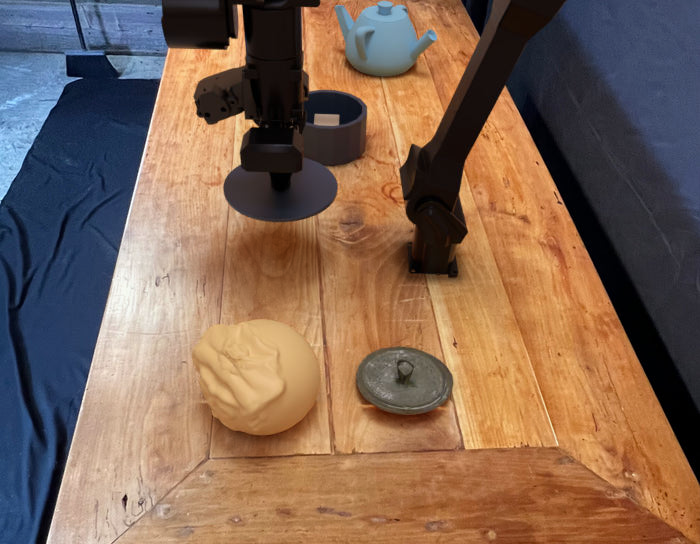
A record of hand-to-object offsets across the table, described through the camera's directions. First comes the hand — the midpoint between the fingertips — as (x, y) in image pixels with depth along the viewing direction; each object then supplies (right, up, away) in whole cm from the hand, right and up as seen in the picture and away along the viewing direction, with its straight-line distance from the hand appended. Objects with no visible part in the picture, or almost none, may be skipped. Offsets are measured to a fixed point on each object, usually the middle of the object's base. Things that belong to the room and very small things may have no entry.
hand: (281, 183), depth 75 cm
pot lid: (0, 0, 0) cm, 1 cm away
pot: (+4, +14, +29) cm, 32 cm away
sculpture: (-1, -26, -8) cm, 27 cm away
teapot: (+15, +37, +51) cm, 64 cm away
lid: (+14, -24, -5) cm, 28 cm away
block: (+4, +14, +28) cm, 32 cm away
